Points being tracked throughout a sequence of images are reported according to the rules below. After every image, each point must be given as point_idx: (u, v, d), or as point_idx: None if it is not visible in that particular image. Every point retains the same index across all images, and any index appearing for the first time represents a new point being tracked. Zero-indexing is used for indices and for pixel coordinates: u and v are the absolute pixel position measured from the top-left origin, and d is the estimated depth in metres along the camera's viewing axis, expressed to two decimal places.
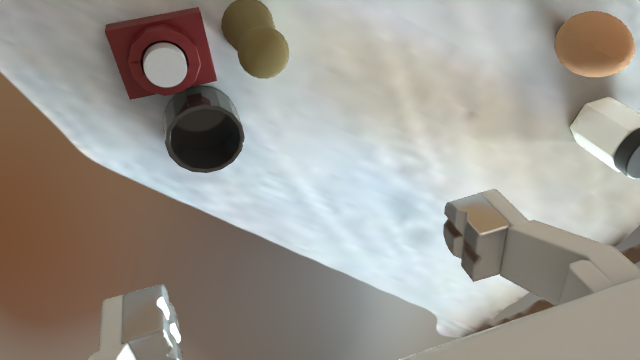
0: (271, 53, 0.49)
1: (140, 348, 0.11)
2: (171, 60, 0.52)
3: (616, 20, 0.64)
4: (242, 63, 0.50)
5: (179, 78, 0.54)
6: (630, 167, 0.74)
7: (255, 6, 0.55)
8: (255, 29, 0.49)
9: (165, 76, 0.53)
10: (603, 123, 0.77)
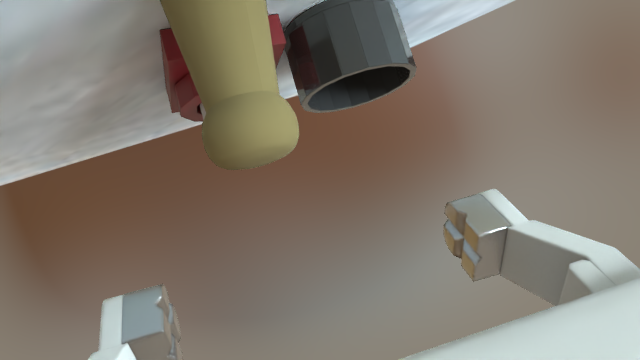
0: (252, 162, 0.26)
1: (140, 348, 0.11)
2: None
3: None
4: None
5: None
6: None
7: (171, 9, 0.26)
8: (204, 146, 0.27)
9: None
10: None
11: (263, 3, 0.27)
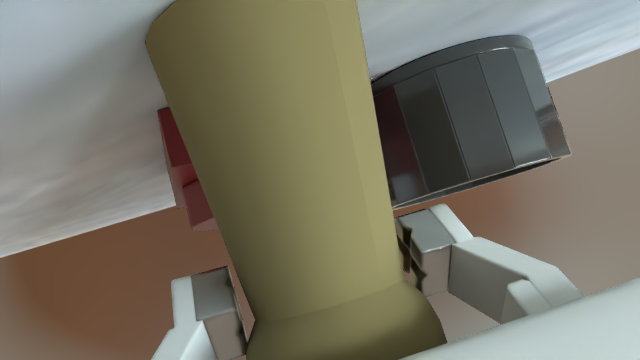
0: None
1: (213, 326, 0.12)
2: None
3: None
4: None
5: None
6: None
7: (182, 106, 0.12)
8: None
9: None
10: None
11: (370, 85, 0.13)
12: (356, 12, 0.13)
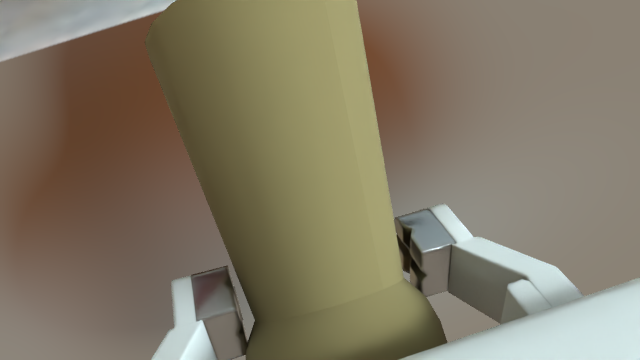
0: None
1: (213, 326, 0.12)
2: None
3: None
4: None
5: None
6: None
7: (182, 106, 0.12)
8: None
9: None
10: None
11: (370, 85, 0.13)
12: (356, 12, 0.13)
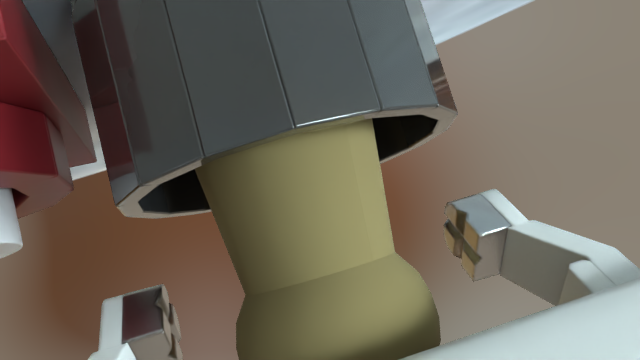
0: None
1: (140, 348, 0.11)
2: None
3: None
4: None
5: None
6: None
7: None
8: None
9: None
10: None
11: None
12: None
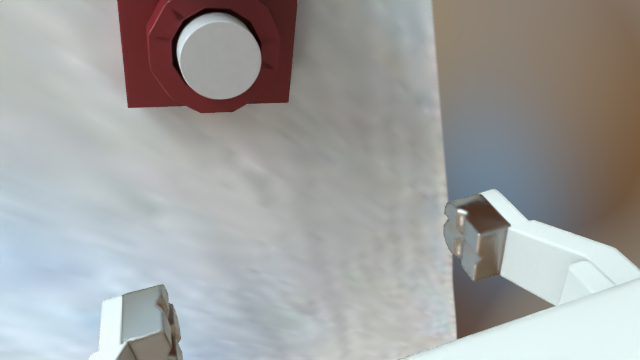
0: None
1: (140, 348, 0.11)
2: (205, 74, 0.27)
3: None
4: None
5: (201, 35, 0.26)
6: None
7: None
8: None
9: (226, 46, 0.26)
10: None
11: None
12: None
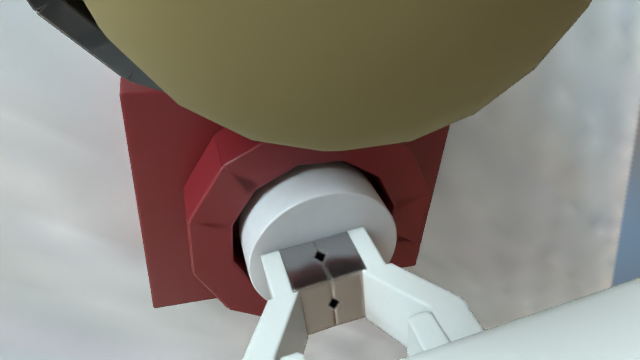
0: None
1: (307, 297, 0.12)
2: None
3: None
4: None
5: (290, 221, 0.13)
6: None
7: None
8: None
9: (337, 230, 0.14)
10: None
11: None
12: None
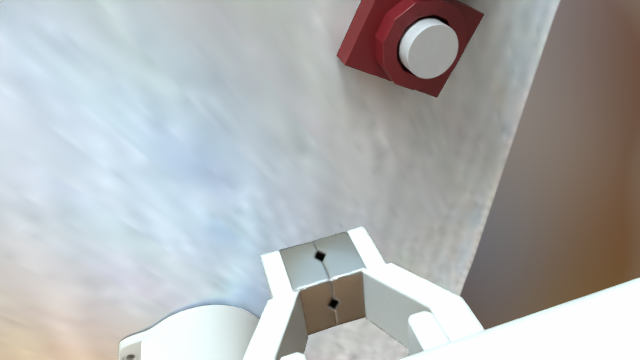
0: None
1: (307, 297, 0.12)
2: (420, 57, 0.39)
3: None
4: None
5: (432, 30, 0.38)
6: None
7: None
8: None
9: (441, 42, 0.39)
10: None
11: None
12: None
